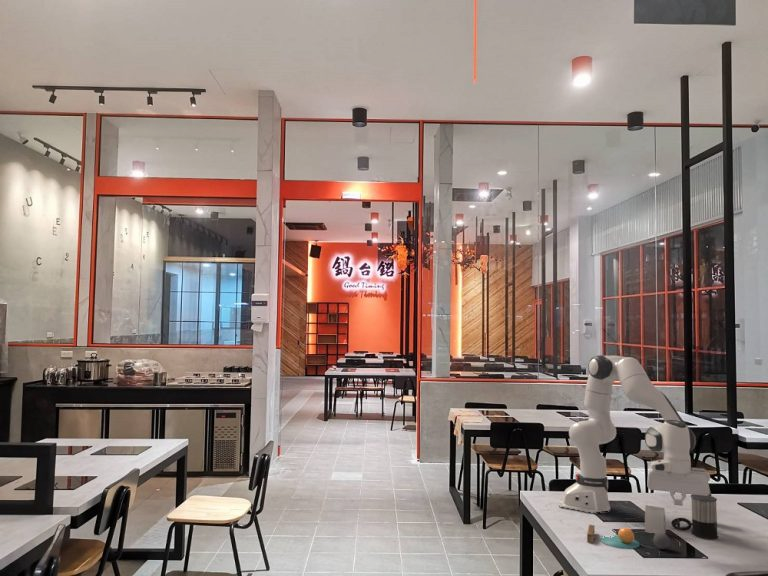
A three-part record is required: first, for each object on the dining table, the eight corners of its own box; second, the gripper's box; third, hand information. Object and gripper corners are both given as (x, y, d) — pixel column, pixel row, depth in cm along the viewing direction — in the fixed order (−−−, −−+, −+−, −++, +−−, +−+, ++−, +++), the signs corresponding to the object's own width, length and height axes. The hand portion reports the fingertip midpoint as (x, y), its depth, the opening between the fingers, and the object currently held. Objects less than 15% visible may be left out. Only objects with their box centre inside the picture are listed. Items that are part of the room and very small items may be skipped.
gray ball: (674, 544, 202) (664, 555, 203) (672, 536, 207) (662, 547, 208) (660, 534, 203) (651, 545, 204) (658, 527, 208) (649, 537, 209)
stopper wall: (587, 542, 210) (587, 534, 211) (589, 532, 221) (589, 524, 222) (593, 543, 210) (592, 534, 210) (594, 533, 221) (594, 525, 221)
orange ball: (637, 538, 207) (626, 548, 208) (637, 534, 212) (626, 543, 213) (625, 526, 209) (614, 536, 210) (625, 522, 214) (615, 531, 215)
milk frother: (720, 541, 214) (719, 501, 216) (674, 535, 220) (673, 496, 221) (713, 530, 228) (712, 492, 229) (670, 524, 233) (669, 487, 235)
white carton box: (663, 535, 220) (663, 509, 220) (645, 532, 224) (644, 506, 224) (665, 533, 222) (665, 507, 223) (647, 529, 227) (646, 504, 227)
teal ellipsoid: (598, 544, 208) (598, 544, 208) (600, 533, 221) (600, 532, 221) (640, 551, 202) (640, 550, 202) (639, 538, 215) (639, 538, 215)
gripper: (708, 467, 205) (709, 506, 204) (646, 461, 213) (647, 499, 212) (710, 470, 200) (712, 511, 198) (647, 464, 208) (648, 503, 206)
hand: (678, 504), depth 205 cm, fingers closed
